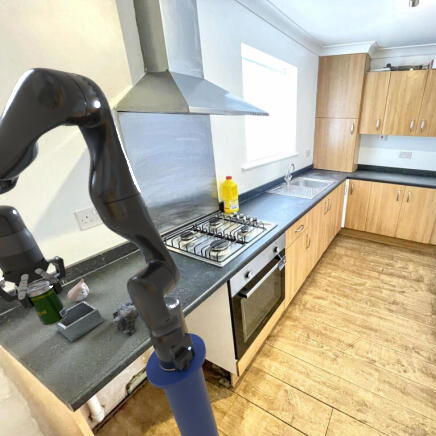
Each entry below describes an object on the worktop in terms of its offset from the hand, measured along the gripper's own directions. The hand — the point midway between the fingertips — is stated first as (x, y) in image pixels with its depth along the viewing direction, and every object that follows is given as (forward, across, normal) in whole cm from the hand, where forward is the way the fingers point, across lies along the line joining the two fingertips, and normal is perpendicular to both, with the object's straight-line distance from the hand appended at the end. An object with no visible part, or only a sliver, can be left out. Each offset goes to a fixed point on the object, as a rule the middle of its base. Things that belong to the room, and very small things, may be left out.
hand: (44, 299), depth 64 cm
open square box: (+21, +6, +9) cm, 24 cm away
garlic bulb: (+21, +13, +25) cm, 35 cm away
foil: (+21, +16, -4) cm, 27 cm away
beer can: (+8, 0, 0) cm, 8 cm away
